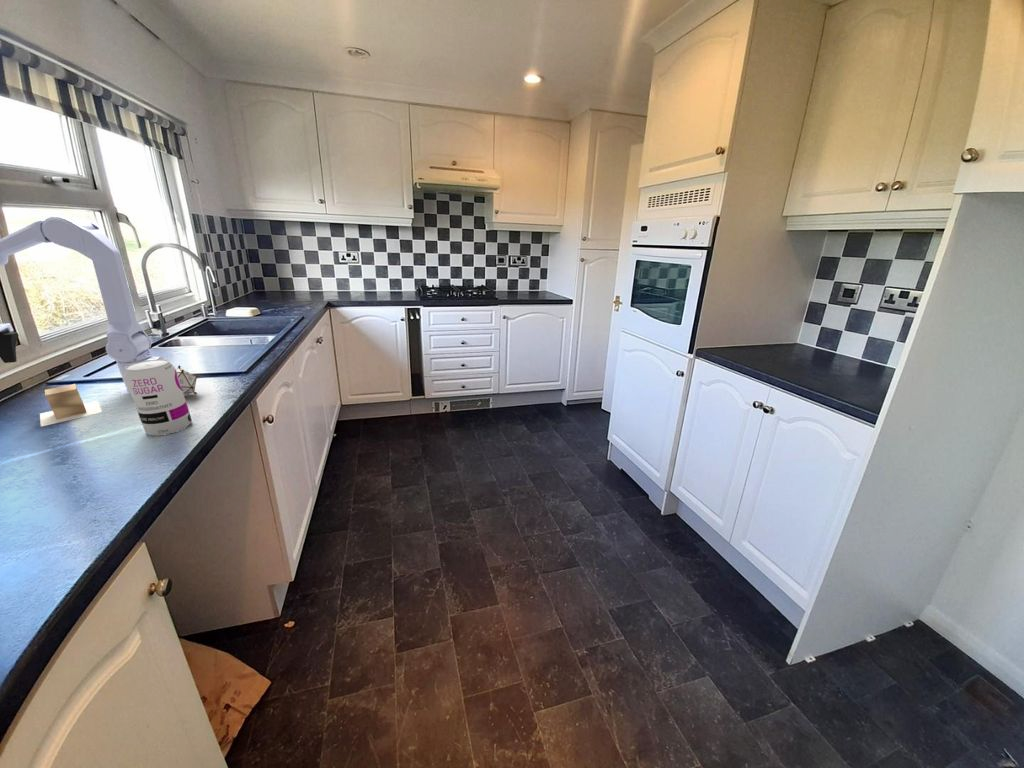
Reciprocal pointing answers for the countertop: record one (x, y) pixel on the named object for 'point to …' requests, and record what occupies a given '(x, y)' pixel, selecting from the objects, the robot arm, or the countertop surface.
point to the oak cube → (65, 401)
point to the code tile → (50, 418)
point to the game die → (186, 381)
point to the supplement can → (158, 396)
